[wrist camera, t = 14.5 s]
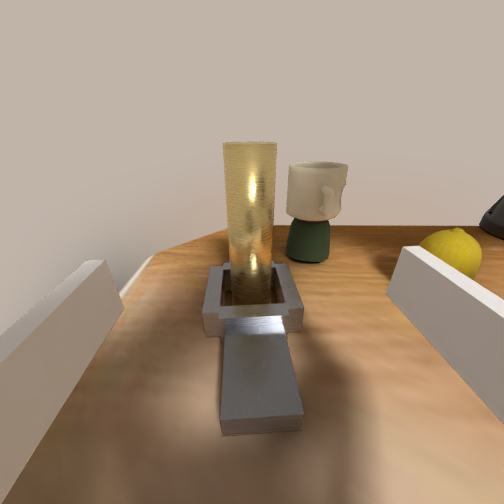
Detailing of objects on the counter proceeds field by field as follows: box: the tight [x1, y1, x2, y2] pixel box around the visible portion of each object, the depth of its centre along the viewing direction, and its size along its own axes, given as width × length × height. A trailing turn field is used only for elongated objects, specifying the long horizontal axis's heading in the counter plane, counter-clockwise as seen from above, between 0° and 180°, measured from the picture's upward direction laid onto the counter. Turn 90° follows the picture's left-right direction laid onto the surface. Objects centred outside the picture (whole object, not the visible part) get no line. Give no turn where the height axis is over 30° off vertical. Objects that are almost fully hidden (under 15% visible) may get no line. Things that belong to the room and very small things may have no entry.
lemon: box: [419, 228, 482, 280], centre depth 24 cm, size 6×6×8 cm
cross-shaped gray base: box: [202, 255, 304, 436], centre depth 23 cm, size 9×23×3 cm, turn 4°
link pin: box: [223, 142, 277, 306], centre depth 20 cm, size 4×4×16 cm
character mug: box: [286, 162, 348, 262], centre depth 30 cm, size 11×7×13 cm, turn 3°
